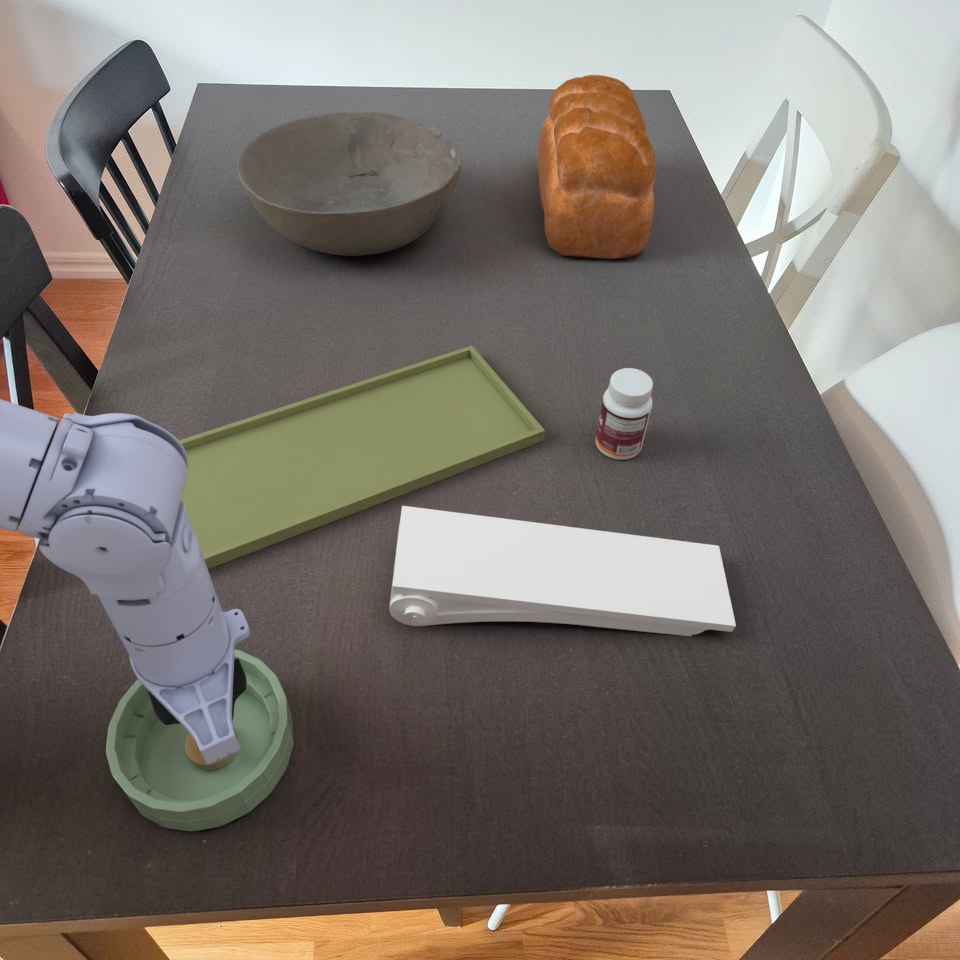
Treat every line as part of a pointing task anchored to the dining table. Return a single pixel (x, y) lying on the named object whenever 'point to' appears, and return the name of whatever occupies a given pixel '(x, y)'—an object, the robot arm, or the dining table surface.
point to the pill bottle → (624, 414)
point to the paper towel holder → (197, 758)
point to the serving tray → (348, 452)
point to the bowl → (350, 180)
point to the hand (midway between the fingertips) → (212, 714)
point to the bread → (596, 170)
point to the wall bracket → (553, 576)
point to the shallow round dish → (180, 785)
